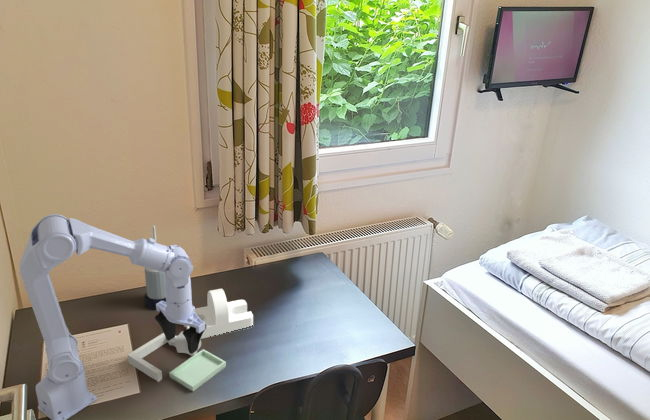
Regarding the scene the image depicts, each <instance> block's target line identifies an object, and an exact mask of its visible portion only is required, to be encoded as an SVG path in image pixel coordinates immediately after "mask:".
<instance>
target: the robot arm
mask: <svg viewBox="0 0 650 420" xmlns="http://www.w3.org/2000/svg"><path fill="white" fill-rule="evenodd" d="M91 249H94V250H97V251H102V252H107V253H112V254H116V255H120V256H123V257H128V259H129V260H130V263H131V264H133V265H135V266H139V267H143V268H145V267H146V268H149V269H153V270H156V271H160V272H165V292H166V302H165V301H161V302H159V303H157V304H156V310H155V311H156V312H158V314H157V315H155V316H154V320H155V321H156V322H157V323H158V325H159V326H160V327H161V329H162V333H164V334H165V337H166V339H167V340H168V341H169V340H171V339H173V338H174V337H175V335H176V329H177V327H176V326H177V325H182V326H184V325H186V326H190V328H188V329H187V328H186V329H185V330H184V332H183V335H184V336H185V338H186V341H187V345H188V351H189V353H191V354H192V353H194V352H195V351H197V352H198V351H199V349H198V345H199V342H200V340H202V339H201V336H202V334H203V332H204V331H205V329H206V324H205V322H203V321H202V320H201V319H200V318H199V317H198V316H197V314H196V313H195V312H194V311H193V310H195V309H196V307H195V306H194V305H193V300H192V299H193V298H192V281H191V274H192V273H193V270H194V265H193V263H192V260H191V259H190V257H189V255H188V254H187V253H186V250H185V249H184V248H182V247H181V246H179V245H177V244H172V245H171V244H170V245H163V244H161V243H158V242H156V243H155V241H154V239H153V237H148V238H147V239H146V238H137V239H136V240H130V239H128V238H125V237H122V236H121V235H117V234H114V233H112V232H109V231H107V230H103V229H100V228H98V227H95V226H93V225H91V224H88V223H86V222H83V221H82V220H79V219H77V218H73V217H69V218H67V217H66V216H65V215H61V214H56V213H55V214H48V215H46V216H44V217H42V218H41V219H40V220H39V221H38V222H37V223H36V224H35V225H34V226H33V227H32V228H31V230H30V235H29V238H28V240H27V244H26V245H25V248H24V251H23V253H22V255H21V258H20V261H19V273H20V274H19V275H20V276H21V279H22V282H23V285H24V289H25V291H26V293H27V296H28V299H29V302H30V304H31V307H32V310H33V313H34V316H35V318H36V321H37V325H38V327H39V330H40V333H41V336H42V339H43V341H44V346H45V353H46V357H47V358H46V359H47V369H46V375H45V376H44V377H43V378H42V379H41V380H40V381H39V382H37V384H35V393H36V397H37V402H38V406H37V409H38V410H39V411H41V412H42V413H43V414H44V415H45V416H47V418H49V419H50V420H68V419H70V418H71V417H73V416H74V415H76V414H78V413H79V412H80V411H82V410H83V409H86V407H88V406H90V405H91V404H93V403H94V402H96V401H97V399H98V397H97V395H96V394H94V393H92V392H91V391H89V389H88V384H87V378H86V371H85V366H84V365H85V364H84V362H83V361H82V360H81V358H80V354H79V349H78V340H77V338H76V337H75V336H74V335H72V334H71V332H70V331H69V328H68V327H67V324H66V322H65V319H64V315H63V313H62V309H61V306H60V302H59V300H58V297H57V293H56V291H55V287H54V283H53V282H52V278H51V276H50V272H51V270H53V269H54V268H55V267H57V266H59V265H61V264H62V263H64V262H65V261H67V260H68V259H70V258H72V256H73V255H74V253H75V252H76V256H80V255H82V254H85V253H86V252H87V251H89V250H91Z"/></svg>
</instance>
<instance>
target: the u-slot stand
mask: <svg viewBox="0 0 650 420" xmlns="http://www.w3.org/2000/svg"><path fill="white" fill-rule="evenodd" d="M206 296H207V297H206V299H207V300H206V301H207V305H206V306H201V307H197V308H196V307H195V310H193V311H194V312H195V313H196V314H197V316H198V317H199V318H200V319H201V320H202V321H203V322H205V324H206V329H205V331H204V332H203V334H202V336H201V339H200V340H202V339H206V338H211V337H215V336H214V335H216V336H219V334H220V335H224V334H223V333H225V334H227V333H226V332H229V333H232V332H231V331H234V330H238V329H242V328H246V327H249V326H252V325H253V326H254V314H253V313H252V311H251V310H250V311H249V310H248V303H247V301H246V300H245V299H237V300H232V301H231V300H230V301H228V298H227V296H226V293H225V290H224V289H223V288H217V289H211V290H208V291H207V295H206ZM183 327H184V328H186V330H187V329H188V328H190V326H186V325H183ZM238 331H239V330H238ZM234 332H235V331H234ZM210 336H211V337H210Z"/></svg>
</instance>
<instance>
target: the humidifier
mask: <svg viewBox="0 0 650 420" xmlns="http://www.w3.org/2000/svg"><path fill="white" fill-rule="evenodd" d="M150 235H151V237H150V238H152V239H154V241H155V243H157V232H156V225H152V232H150ZM144 276H145V278H144V279H145V287H146V292H145V294H144V305H145V307H146V308H147V309H149V310H151V311H152V310H153V311H157V310H156V304H157V303H159V302H161V301H165V302H166V292H165V272H160V271H156V270H153V269H149V268H146V267H144Z"/></svg>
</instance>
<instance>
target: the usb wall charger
mask: <svg viewBox="0 0 650 420" xmlns="http://www.w3.org/2000/svg"><path fill="white" fill-rule="evenodd" d="M184 331H185V330H184ZM184 331H180V332H179V334H178V335H176V336H177V337H176V338H175V339H174V338H173V340H175V343H171V344H170V343H168V345H169V346H173V347H175V346H176V347H175V349H176V352H177V353H178V354H179V353H181V354H187V353H189V351H188V345H187V341H186V338H185V336H184V335H183V332H184ZM201 346H202V339H200V342H199V345H198V350H199V349H200V348H201ZM195 353H196V351H195V352H194V353H192V354H195Z"/></svg>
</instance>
